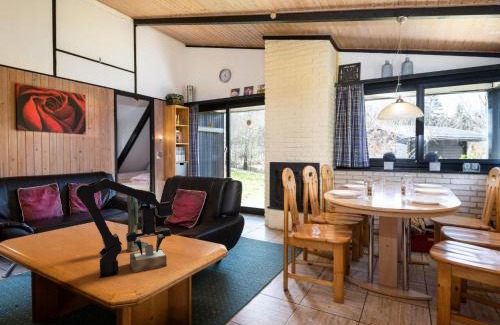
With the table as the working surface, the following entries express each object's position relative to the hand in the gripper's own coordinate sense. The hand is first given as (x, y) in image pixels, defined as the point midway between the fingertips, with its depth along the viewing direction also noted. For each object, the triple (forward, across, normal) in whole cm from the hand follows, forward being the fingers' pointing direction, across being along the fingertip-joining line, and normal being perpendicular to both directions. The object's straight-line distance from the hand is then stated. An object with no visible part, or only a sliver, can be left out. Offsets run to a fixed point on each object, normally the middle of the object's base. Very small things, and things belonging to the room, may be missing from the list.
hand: (149, 253), depth 129 cm
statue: (+5, +3, -28) cm, 29 cm away
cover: (+2, 0, 0) cm, 2 cm away
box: (+5, +1, 0) cm, 5 cm away
